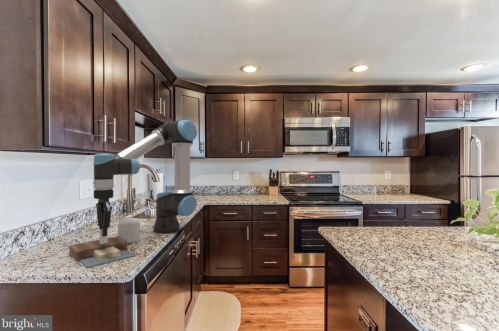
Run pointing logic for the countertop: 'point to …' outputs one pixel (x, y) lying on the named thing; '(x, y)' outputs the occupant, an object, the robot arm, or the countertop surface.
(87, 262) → the rubber mat
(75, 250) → the board
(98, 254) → the birch tile
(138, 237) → the photo printer
